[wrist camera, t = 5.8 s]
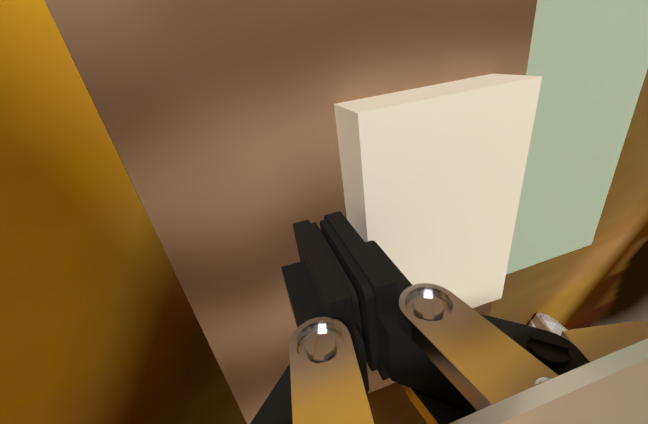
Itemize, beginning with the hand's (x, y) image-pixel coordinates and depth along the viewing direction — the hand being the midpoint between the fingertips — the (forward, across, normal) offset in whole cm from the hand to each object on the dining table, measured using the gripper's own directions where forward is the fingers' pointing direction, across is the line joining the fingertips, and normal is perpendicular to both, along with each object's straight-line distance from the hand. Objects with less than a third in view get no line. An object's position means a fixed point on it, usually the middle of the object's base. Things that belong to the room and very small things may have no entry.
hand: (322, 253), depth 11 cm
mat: (+5, -16, 0) cm, 16 cm away
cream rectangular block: (+1, -4, 0) cm, 5 cm away
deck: (+5, -2, 0) cm, 6 cm away
